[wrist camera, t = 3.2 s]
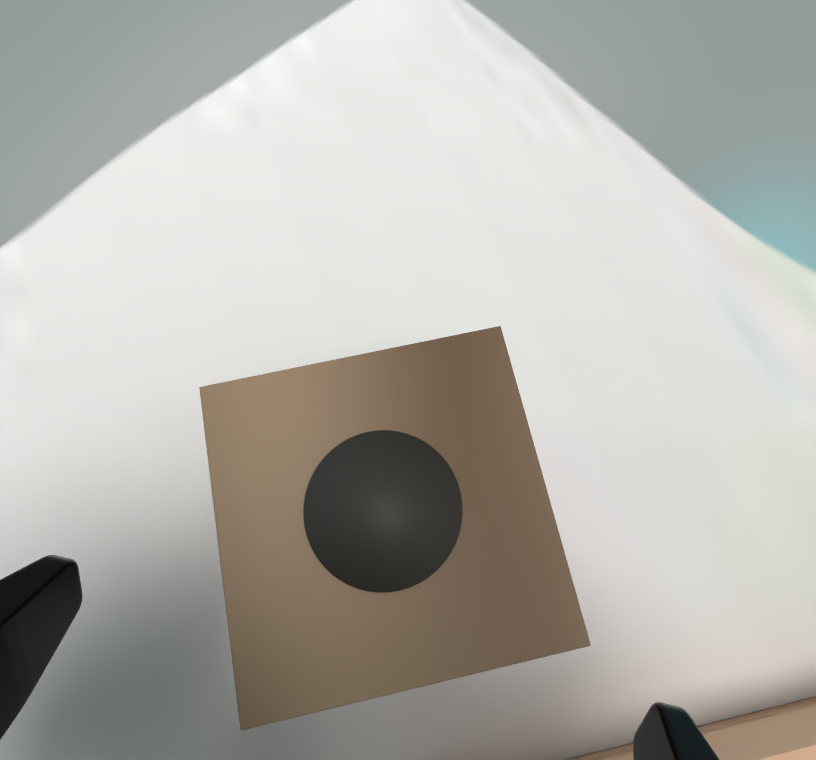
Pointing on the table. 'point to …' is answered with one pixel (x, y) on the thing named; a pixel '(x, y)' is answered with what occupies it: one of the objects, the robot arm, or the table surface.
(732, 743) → the tray
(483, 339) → the walnut block
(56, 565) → the robot arm
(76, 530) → the table surface
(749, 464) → the table surface
